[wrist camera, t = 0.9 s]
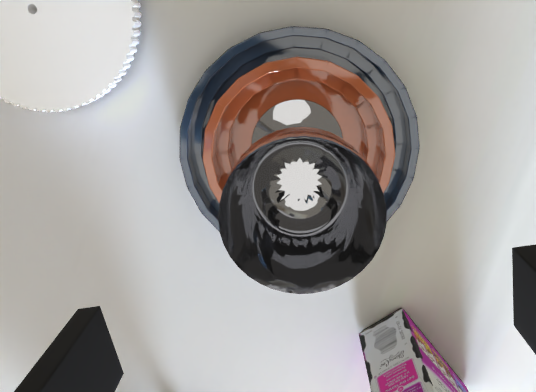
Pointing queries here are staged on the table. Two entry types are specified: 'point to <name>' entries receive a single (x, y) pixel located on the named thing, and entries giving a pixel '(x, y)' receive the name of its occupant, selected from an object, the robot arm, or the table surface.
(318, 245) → the wine glass
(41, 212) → the table surface
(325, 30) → the serving bowl
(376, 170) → the small bowl
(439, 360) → the candy bar box
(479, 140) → the table surface
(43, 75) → the plastic lid
